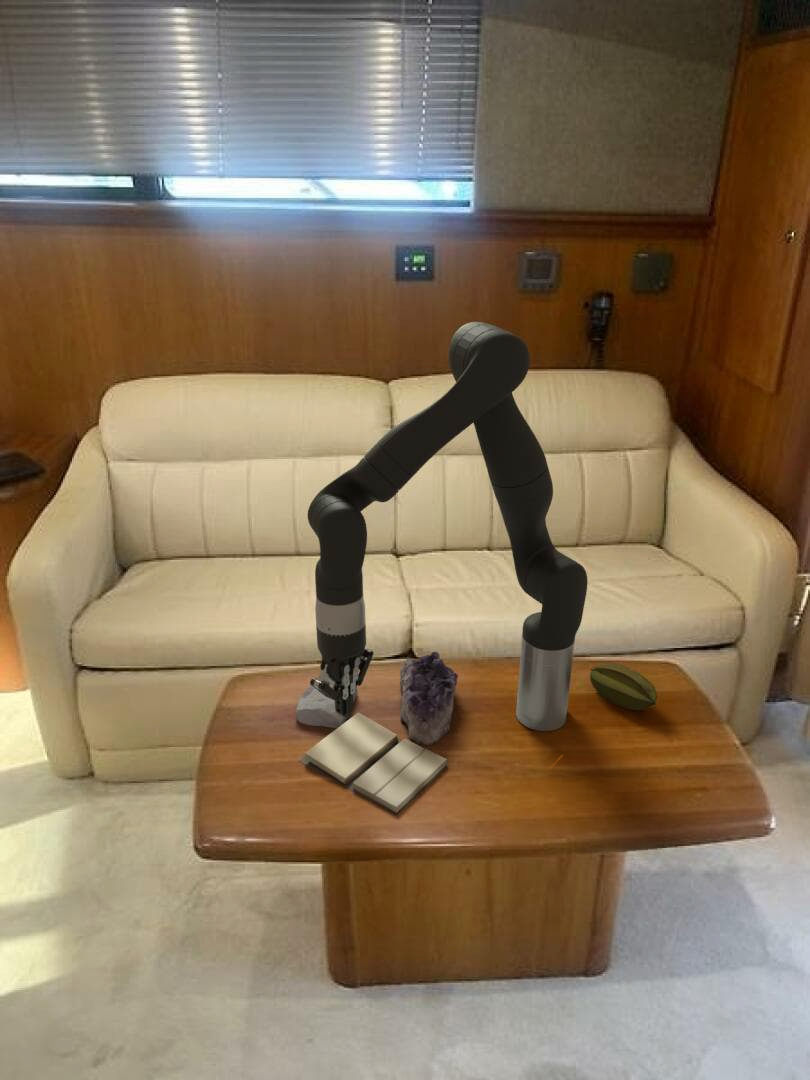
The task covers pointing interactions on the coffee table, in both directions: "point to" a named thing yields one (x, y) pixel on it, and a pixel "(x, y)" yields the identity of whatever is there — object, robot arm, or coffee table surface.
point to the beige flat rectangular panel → (351, 747)
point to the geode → (427, 698)
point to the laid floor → (394, 775)
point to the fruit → (623, 686)
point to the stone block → (319, 709)
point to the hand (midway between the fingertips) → (344, 713)
